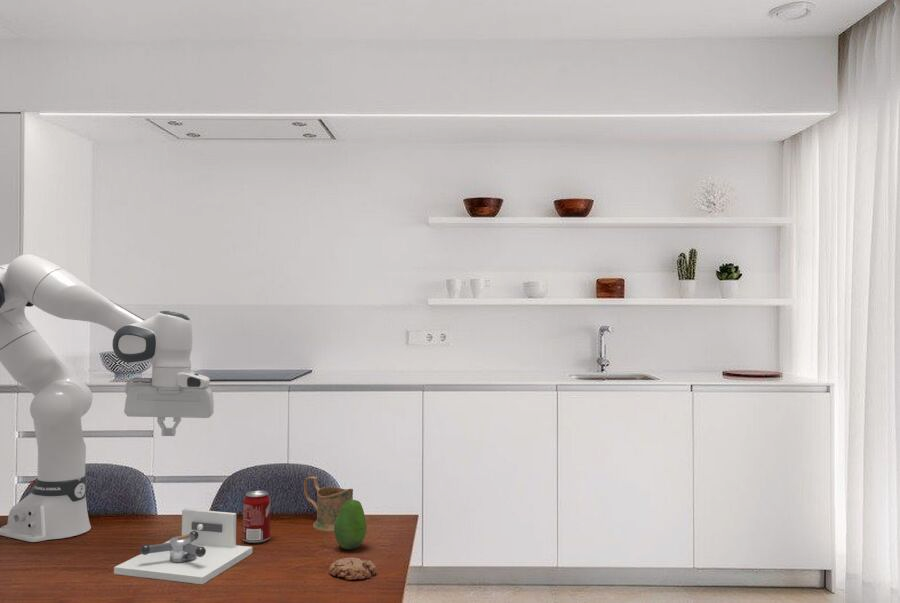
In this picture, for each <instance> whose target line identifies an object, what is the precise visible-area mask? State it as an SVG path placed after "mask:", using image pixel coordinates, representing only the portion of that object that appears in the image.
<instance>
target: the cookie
mask: <svg viewBox="0 0 900 603" xmlns="http://www.w3.org/2000/svg"><path fill="white" fill-rule="evenodd" d="M376 573H377V566H376V565H375V564H374V563H373V561H371V560H370V559H369V560H366V559H360V558H359V557H358V558H357V557H344V558H340V559H337V560H335V561H334V562H332V563H331V564H330V566H329V568H328V574H329V575H331V576H333V577H337V578H344V579H345V580H348V581H353V580H365V579H366V580H367V579H371V578H372V577H373V576H375V575H376Z"/></svg>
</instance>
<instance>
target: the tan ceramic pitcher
mask: <svg viewBox="0 0 900 603" xmlns="http://www.w3.org/2000/svg"><path fill="white" fill-rule="evenodd" d="M318 478H319V477H317V476H307V477H306V478H304V481H303V492H304V496H305V498H306V500H307V501H308V502H309V503H310V504H312V506H313V507H314V508H315V510H316V520H315V521H314V522H313V524H312V525H313V526H312V527H313V529H315V530H316V531H319V532H325V533H326V532H327V533H335V532H334V524H335V521H336V518H337V516H338V514H339V512H340V510H341V508H342V506H343V504H344V503H345V502H347V501H349V500H354V497H353V494H354V488H347V489H346V488H341V487H335V486H325V487H321V488H320V487H319V481H318V480H319V479H318ZM309 479H312V480H314V481H313V483H314V487H315V490H316V492H317V493H316V494H317V495H316V496H317V497H316V498H317V501H315V500H313V499H312V498H311V497H310V495H309V491H308V490H309V489H308V481H309Z"/></svg>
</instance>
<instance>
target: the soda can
mask: <svg viewBox="0 0 900 603" xmlns="http://www.w3.org/2000/svg"><path fill="white" fill-rule="evenodd" d="M241 533H242V534H241V535H242V538H241V540H242V541H244V542H246V544H247V543H248V544H251V543H253V545H255V544H256V543H257V544H262V543H265V542H266V541H268V540H269V539H270V538H271V497H270V496H269V492H268V491H265V490H251V491H247V492H246V493H245V497H244V499H243V500H242V532H241ZM254 543H255V544H254Z"/></svg>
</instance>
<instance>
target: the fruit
mask: <svg viewBox="0 0 900 603" xmlns="http://www.w3.org/2000/svg"><path fill="white" fill-rule="evenodd" d="M333 533H334V536H335V539H336V540H335V541H336V543H337V544H338V545H339V546H340V547H341V548H342V549H344V550H348V551H349V550H354V549H357V548H358V547H360V546H361V544H363V542H364V540H365V537H366V533H367V520H366V516H365V511H364V508H363V505H362V503H361V502H360V500H356V499H353V500H349V501H347V502H345V503H344V504H343V506H342V508H341V510H340V512H339V514H338V516H337V518H336V521H335V524H334V532H333Z"/></svg>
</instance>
